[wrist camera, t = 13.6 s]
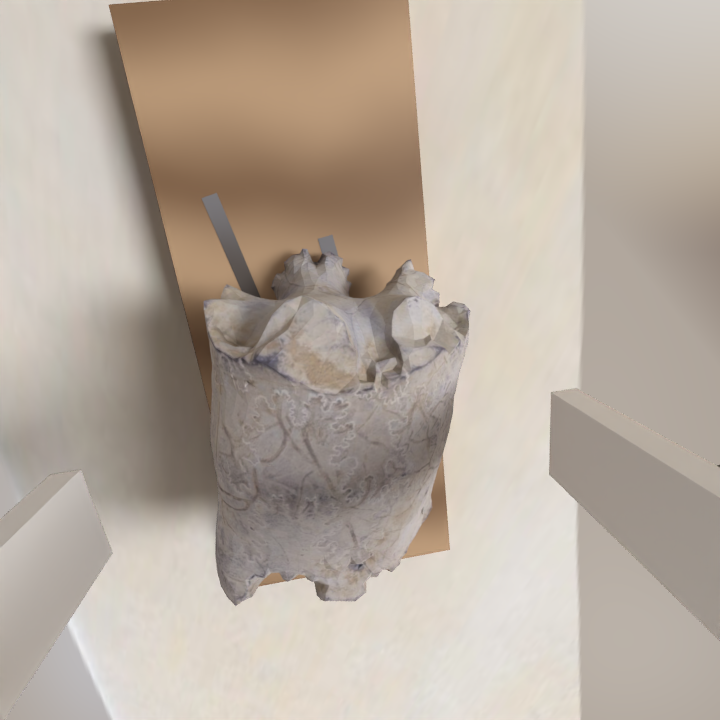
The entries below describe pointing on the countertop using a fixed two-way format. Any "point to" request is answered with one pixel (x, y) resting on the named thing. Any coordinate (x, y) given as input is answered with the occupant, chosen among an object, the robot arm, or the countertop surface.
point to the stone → (327, 423)
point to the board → (280, 150)
